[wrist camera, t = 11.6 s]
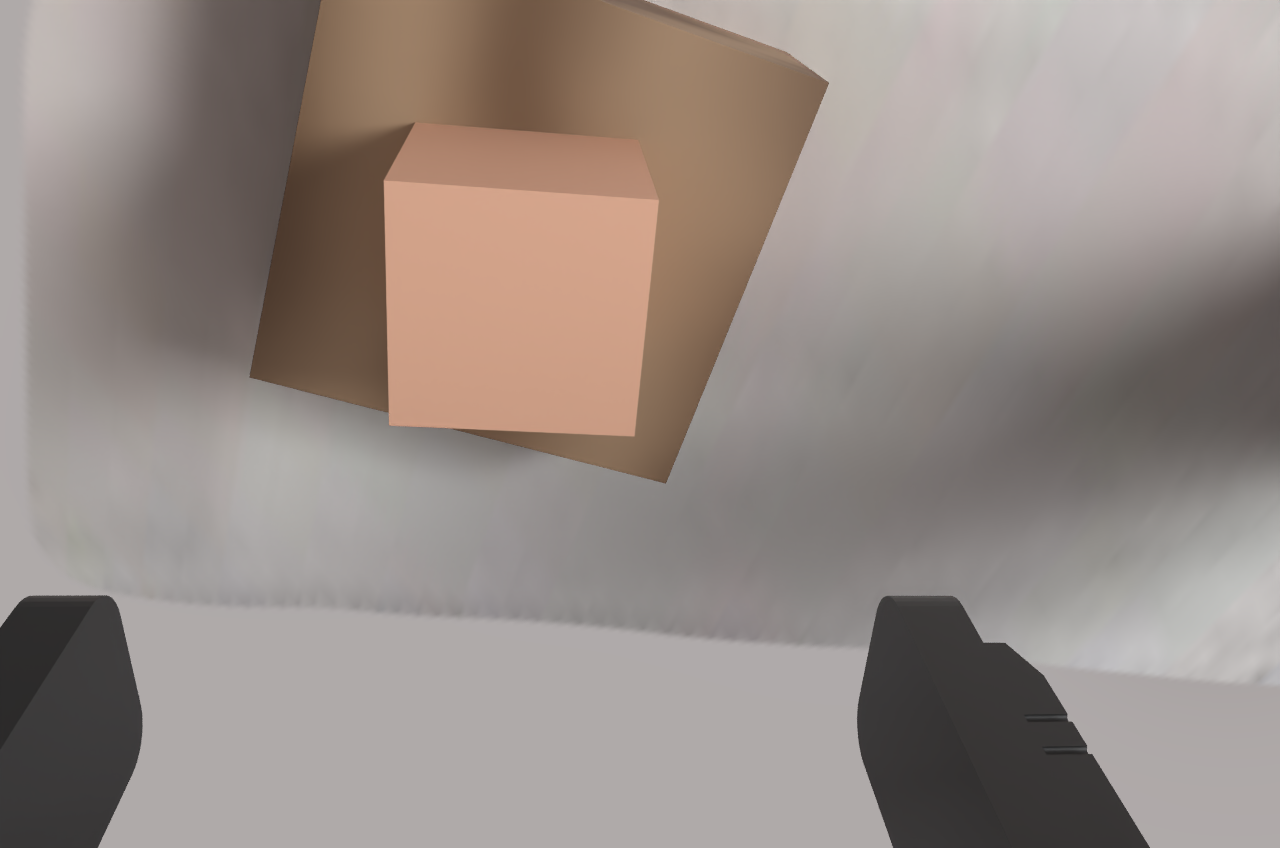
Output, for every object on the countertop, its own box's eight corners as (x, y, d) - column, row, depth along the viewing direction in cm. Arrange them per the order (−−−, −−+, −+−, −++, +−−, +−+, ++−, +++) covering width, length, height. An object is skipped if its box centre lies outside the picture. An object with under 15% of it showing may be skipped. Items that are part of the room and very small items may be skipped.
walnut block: (783, 50, 28) (828, 82, 23) (649, 400, 32) (665, 483, 28) (375, -99, 25) (338, -94, 21) (293, 303, 30) (249, 377, 25)
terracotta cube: (638, 139, 23) (658, 199, 19) (619, 341, 26) (634, 436, 21) (415, 122, 23) (383, 180, 18) (416, 330, 25) (388, 425, 21)
